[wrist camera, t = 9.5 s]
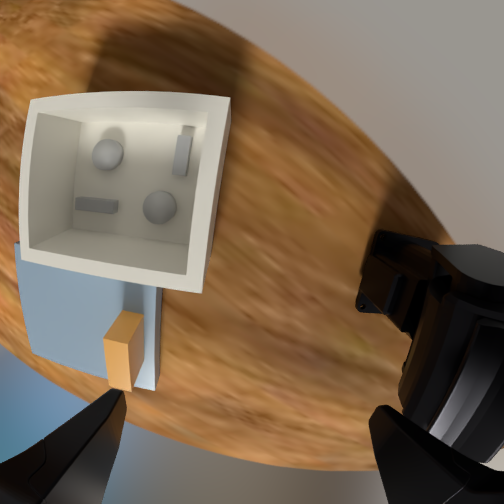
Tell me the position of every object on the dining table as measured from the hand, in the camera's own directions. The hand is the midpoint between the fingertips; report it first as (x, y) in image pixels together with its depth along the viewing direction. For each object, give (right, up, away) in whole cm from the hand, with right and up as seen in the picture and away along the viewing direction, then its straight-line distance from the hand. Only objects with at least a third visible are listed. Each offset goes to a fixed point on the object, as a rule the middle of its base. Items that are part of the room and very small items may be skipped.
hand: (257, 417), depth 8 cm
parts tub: (-8, +10, +9) cm, 16 cm away
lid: (-13, +1, +11) cm, 17 cm away
